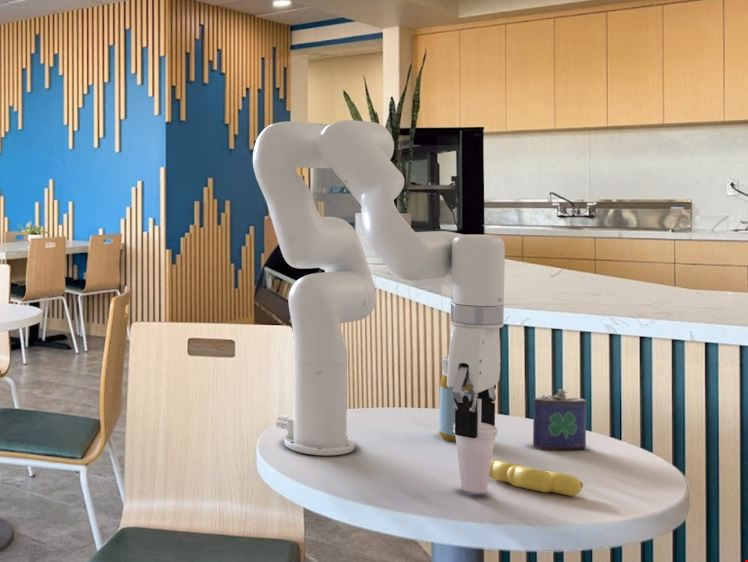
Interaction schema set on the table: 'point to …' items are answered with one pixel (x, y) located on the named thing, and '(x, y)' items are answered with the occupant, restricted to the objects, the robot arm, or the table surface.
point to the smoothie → (476, 456)
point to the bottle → (447, 406)
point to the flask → (559, 422)
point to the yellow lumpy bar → (535, 478)
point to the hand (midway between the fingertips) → (475, 430)
